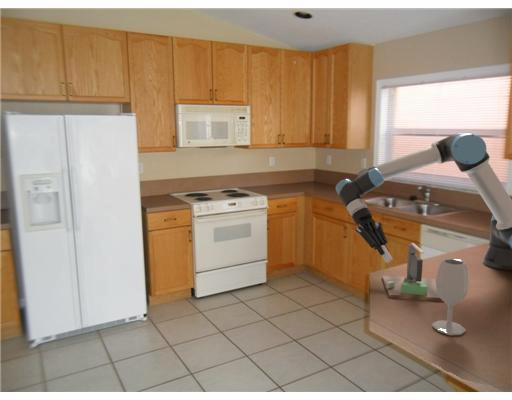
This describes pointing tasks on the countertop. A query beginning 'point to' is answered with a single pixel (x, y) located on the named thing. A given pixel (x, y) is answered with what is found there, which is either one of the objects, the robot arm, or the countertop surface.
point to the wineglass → (451, 292)
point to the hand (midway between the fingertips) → (389, 261)
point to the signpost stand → (414, 264)
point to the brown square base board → (396, 293)
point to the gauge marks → (410, 287)
